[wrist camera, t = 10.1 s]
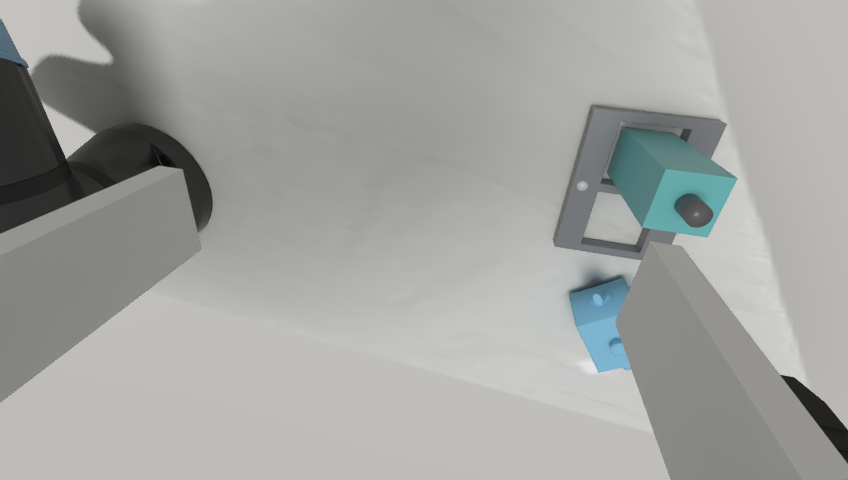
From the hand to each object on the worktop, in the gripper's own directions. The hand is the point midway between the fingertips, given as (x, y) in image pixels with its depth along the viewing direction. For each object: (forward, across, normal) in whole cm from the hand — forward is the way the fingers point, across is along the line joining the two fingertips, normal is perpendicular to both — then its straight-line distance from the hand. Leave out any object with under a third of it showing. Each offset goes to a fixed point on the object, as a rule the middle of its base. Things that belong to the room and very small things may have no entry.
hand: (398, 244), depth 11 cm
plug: (+30, +16, -4) cm, 35 cm away
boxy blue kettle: (+31, +18, -22) cm, 42 cm away
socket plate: (+30, +16, -8) cm, 36 cm away
